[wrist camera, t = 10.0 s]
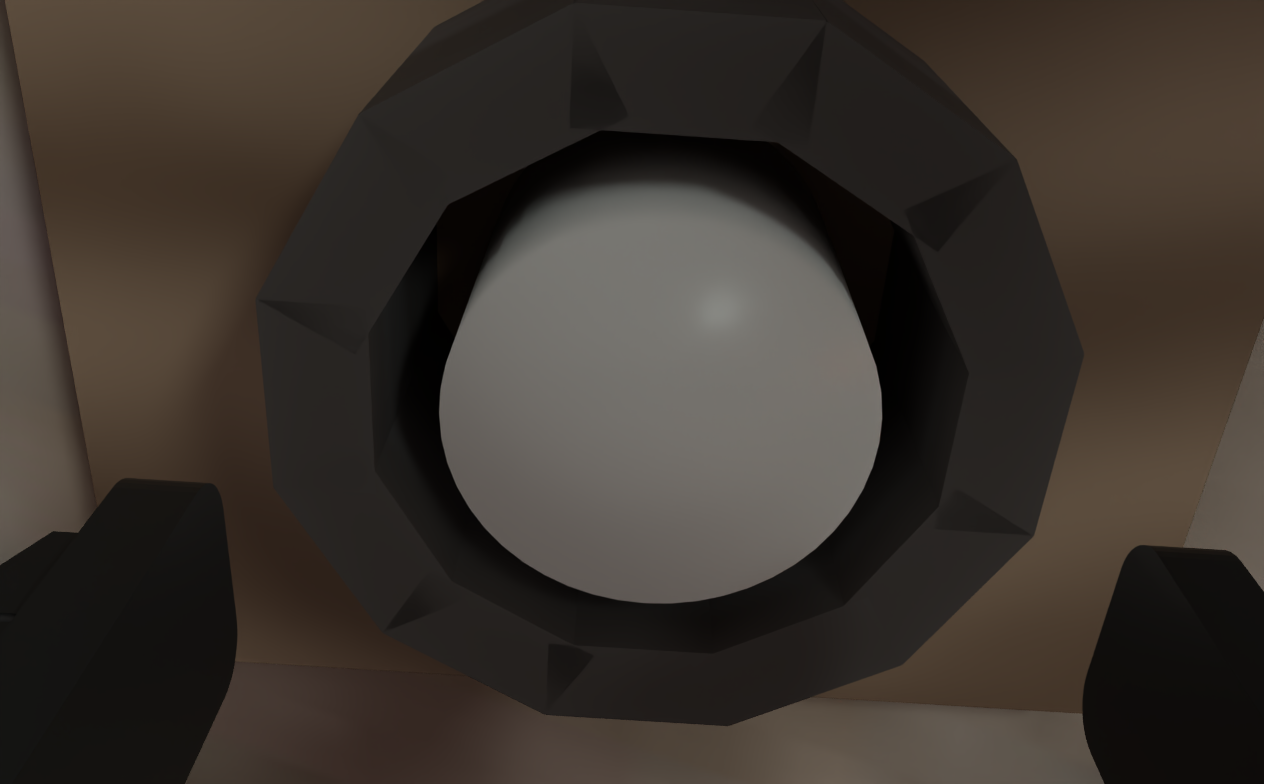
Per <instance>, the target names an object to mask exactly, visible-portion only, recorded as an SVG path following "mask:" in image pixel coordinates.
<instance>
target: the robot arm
mask: <svg viewBox="0 0 1264 784" xmlns="http://www.w3.org/2000/svg"><path fill="white" fill-rule="evenodd" d="M236 650H237V617H236V608H235V600H234V592H233V584H232V575H231V567H230V559H229V550H228V542H227V534H226V526H225V517H224V509H223V503H222V499H221V495H220V493H219V491H218V489H217V487H216V486H215V485H213V484H212V483H200V482H184V481H169V480H153V479H137V478H124V479H121V480H120V481H118V482H117V483H116V484H115V485H114V486H113V488H112V489H111V490H110V492H109V493H108V494H107V495H106V497H105V498H104V499H103V501H102V502H101V503H100V505H99V506H98V507H97V509H96V510H95V511H94V513H93V514H92V515H91V517H90V518H89V519H88V521H87V522H86V523H85V524H84V526H83V527H82V528H81V530H80V531H79V532H78V533H71V532H56V531H53V532H51V533H50V534H48V535H47V536H45V537H44V538H42V539H40V540H39V541H37V542H36V543H34V544H33V545H31V546H30V547H28V548H26V549H25V550H23V551H22V552H20V553H19V554H17V555H15V556H14V557H12V558H11V559H9V560H8V561H6V562H5V563H3V564H1V565H0V784H185V782H186V780H187V778H188V776H189V773H190V771H191V769H192V767H193V765H194V763H195V760H196V758H197V756H198V754H199V752H200V750H201V748H202V745H203V743H204V741H205V739H206V737H207V735H208V733H209V730H210V728H211V726H212V724H213V722H214V720H215V717H216V715H217V713H218V711H219V709H220V707H221V705H222V702H223V700H224V698H225V696H226V693H227V691H228V688H229V685H230V681H231V678H232V674H233V669H234V664H235V658H236ZM1082 712H1083V724H1084V731H1085V736H1086V740H1087V743H1088V747H1089V749H1090V752H1091V755H1092V757H1093V759H1094V761H1095V764H1096V766H1097V768H1098V770H1099V772H1100V775H1101V777H1102V779H1103V781H1104V784H1264V592H1263V590H1262V589H1261V587H1260V586H1259V585H1258V583H1257V582H1256V581H1255V579H1254V578H1253V577H1252V575H1251V574H1250V573H1249V571H1248V570H1247V569H1246V567H1245V566H1244V565H1243V563H1242V562H1241V561H1240V560H1239V559H1238V557H1237V556H1235V555H1234V554H1233V553H1231V552H1229V551H1226V550H1213V549H1198V548H1182V547H1166V546H1150V545H1139V546H1136V547H1135V548H1134V549H1132V550H1131V551H1130V552H1129V554H1128V555H1127V557H1126V559H1125V560H1124V563H1123V565H1122V568H1121V570H1120V574H1119V577H1118V580H1117V583H1116V586H1115V589H1114V592H1113V595H1112V598H1111V601H1110V604H1109V607H1108V610H1107V613H1106V617H1105V620H1104V623H1103V626H1102V629H1101V632H1100V635H1099V638H1098V641H1097V644H1096V647H1095V650H1094V653H1093V656H1092V660H1091V663H1090V666H1089V669H1088V672H1087V675H1086V679H1085V683H1084V689H1083V699H1082Z"/></svg>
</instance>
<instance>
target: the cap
mask: <svg viewBox="0 0 1264 784" xmlns="http://www.w3.org/2000/svg"><path fill="white" fill-rule="evenodd" d="M439 418H440V429H441V439H442V443H443V447H444V451H445V455H446V460H447V463H448V466H449V468H450V471H451V473H452V476H453V478H454V481H455V483H456V486H457V488H458V489H459V491H460V493H461V494H462V496H463V498H464V500H465V501H466V503H467V505H468V507H469V508H470V510H471V511H472V512H473V513H474V515H475V516H476V517H477V519H478V520H479V521H480V523H481V524H482V525H483V526H484V528H485V529H486V530H487V531H488V532H489V533H490V534H491V535H492V536H493V537H494V538H495V539H496V540H497V541H498V542H499V543H500V544H501V545H502V546H503V547H505V548H506V549H507V550H508V551H510V552H511V553H512V554H514V555H515V556H516V557H517V558H519V559H520V560H521V561H522V562H524V563H526V564H527V565H529V566H531V567H532V568H534V569H536V570H537V571H539V572H540V573H542V574H544V575H546V576H548V577H550V578H552V579H554V580H556V581H558V582H561V583H563V584H565V585H567V586H570V587H573V588H576V589H578V590H581V591H584V592H587V593H590V594H593V595H598V596H602V597H607V598H611V599H616V600H622V601H631V602H639V603H681V602H692V601H700V600H705V599H710V598H715V597H720V596H724V595H728V594H731V593H734V592H737V591H740V590H744V589H747V588H749V587H752V586H754V585H756V584H759V583H761V582H763V581H765V580H768V579H770V578H772V577H774V576H776V575H777V574H779V573H781V572H783V571H784V570H786V569H788V568H790V567H791V566H793V565H795V564H796V563H797V562H799V561H800V560H801V559H803V558H804V557H805V556H807V555H808V554H809V553H811V552H812V551H813V550H815V549H816V548H817V547H818V546H819V545H820V544H821V543H822V542H823V541H824V540H825V539H826V538H827V537H828V536H829V535H831V534H832V533H833V532H834V531H835V529H836V528H837V527H838V526H839V524H840V523H841V522H842V521H843V519H844V518H845V517H846V516H847V514H848V513H849V512H850V510H851V509H852V507H853V505H854V504H855V502H856V501H857V499H858V497H859V496H860V494H861V492H862V491H863V489H864V486H865V484H866V482H867V479H868V477H869V475H870V472H871V470H872V468H873V464H874V461H875V457H876V453H877V449H878V446H879V441H880V432H881V424H882V399H881V388H880V383H879V378H878V373H877V367H876V364H875V361H874V359H873V356H872V353H871V350H870V347H869V345H868V342H867V339H866V336H865V334H864V331H863V328H862V325H861V322H860V320H859V317H858V314H857V311H856V309H855V306H854V303H853V300H852V298H851V295H850V292H849V289H848V287H847V284H846V281H845V278H844V276H843V273H842V270H841V267H840V264H839V262H838V259H837V256H836V253H835V251H834V248H833V245H832V242H831V240H830V237H829V234H828V231H827V229H826V226H825V223H824V220H823V218H822V215H821V212H820V209H819V206H818V204H817V202H816V200H815V198H814V196H813V194H812V193H811V191H810V189H809V187H808V185H807V184H806V182H805V181H804V179H803V178H802V177H801V175H800V174H799V173H798V171H797V170H796V168H795V167H794V166H793V165H792V164H791V163H790V162H789V161H788V160H787V159H786V158H785V157H784V156H783V155H782V154H781V153H780V152H779V151H778V150H777V149H776V148H775V147H773V146H772V145H771V144H769V143H768V142H766V141H752V140H737V139H723V138H708V137H694V136H679V135H665V134H650V133H636V132H621V131H607V130H600V131H598V132H596V133H594V134H592V135H590V136H588V137H586V138H584V139H582V140H580V141H578V142H576V143H573V144H571V145H569V146H567V147H565V148H563V149H561V150H559V151H557V152H555V153H553V154H551V155H549V156H547V157H545V158H543V159H541V160H539V161H536V162H534V163H532V164H530V165H528V166H527V168H526V169H525V170H524V172H523V173H522V174H521V176H520V177H519V178H518V180H517V181H516V182H515V184H514V186H513V187H512V189H511V191H510V193H509V195H508V197H507V198H506V200H505V202H504V204H503V207H502V210H501V212H500V215H499V218H498V220H497V223H496V226H495V228H494V231H493V234H492V237H491V240H490V242H489V245H488V248H487V251H486V253H485V256H484V259H483V262H482V265H481V267H480V270H479V273H478V276H477V278H476V281H475V284H474V287H473V290H472V292H471V295H470V298H469V301H468V303H467V306H466V309H465V312H464V315H463V317H462V320H461V323H460V326H459V328H458V331H457V334H456V337H455V340H454V342H453V345H452V348H451V351H450V353H449V356H448V359H447V362H446V365H445V370H444V375H443V380H442V384H441V390H440V407H439Z"/></svg>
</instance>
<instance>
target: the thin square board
mask: <svg viewBox="0 0 1264 784" xmlns="http://www.w3.org/2000/svg"><path fill="white" fill-rule="evenodd" d="M5 4H6V9H7V15H8V20H9V26H10V31H11V37H12V42H13V48H14V53H15V59H16V64H17V70H18V75H19V81H20V86H21V92H22V97H23V103H24V108H25V114H26V119H27V125H28V130H29V136H30V141H31V147H32V152H33V158H34V163H35V169H36V174H37V180H38V185H39V191H40V196H41V202H42V207H43V213H44V218H45V224H46V229H47V235H48V240H49V246H50V251H51V256H52V262H53V267H54V273H55V278H56V284H57V289H58V295H59V300H60V306H61V311H62V317H63V322H64V328H65V333H66V339H67V344H68V350H69V355H70V361H71V366H72V372H73V377H74V383H75V388H76V394H77V399H78V405H79V410H80V416H81V421H82V427H83V432H84V438H85V443H86V449H87V454H88V460H89V465H90V471H91V476H92V482H93V487H94V493H95V498H96V504H97V507H98V506H99V505H100V503H101V502H102V501H103V499H104V498H105V497H106V495H107V494H108V493H109V492H110V490H111V489H112V488H113V486H114V485H115V484H116V483H117V482H118V481H120V480H121V479H124V478H137V479H153V480H169V481H184V482H200V483H212V484H213V485H215V486H216V487H217V489H218V491H219V493H220V495H221V499H222V503H223V509H224V517H225V526H226V534H227V542H228V550H229V559H230V567H231V575H232V584H233V592H234V600H235V608H236V617H237V650H236V658H235V662H250V663H266V664H282V665H299V666H315V667H331V668H348V669H364V670H380V671H397V672H413V673H429V674H446V675H462V676H469V677H471V678H473V679H475V680H477V681H479V682H481V683H483V684H485V685H487V686H489V687H491V688H493V689H495V690H497V691H499V692H501V693H503V694H505V695H507V696H509V697H511V698H513V699H515V700H517V701H519V702H521V703H523V704H525V705H527V706H529V707H531V708H533V709H535V710H537V711H539V712H541V713H543V714H546V715H556V716H572V717H589V718H605V719H621V720H638V721H654V722H671V723H687V724H704V725H720V726H728V725H729V726H730V725H733V724H736V723H738V722H741V721H744V720H747V719H750V718H753V717H756V716H758V715H761V714H764V713H767V712H770V711H773V710H776V709H778V708H781V707H784V706H787V705H790V704H793V703H796V702H798V701H801V700H804V699H807V698H810V697H821V698H837V699H853V700H870V701H886V702H902V703H918V704H935V705H951V706H967V707H984V708H1000V709H1016V710H1033V711H1049V712H1065V713H1082V714H1083V712H1082V699H1083V689H1084V683H1085V679H1086V675H1087V672H1088V669H1089V666H1090V663H1091V660H1092V656H1093V653H1094V650H1095V647H1096V644H1097V641H1098V638H1099V635H1100V632H1101V629H1102V626H1103V623H1104V620H1105V617H1106V613H1107V610H1108V607H1109V604H1110V601H1111V598H1112V595H1113V592H1114V589H1115V586H1116V583H1117V580H1118V577H1119V574H1120V570H1121V568H1122V565H1123V563H1124V560H1125V559H1126V557H1127V555H1128V554H1129V552H1130V551H1131V550H1132V549H1134V548H1135V547H1136V546H1139V545H1150V546H1166V547H1182V548H1183V545H1184V543H1185V540H1186V537H1187V534H1188V531H1189V528H1190V526H1191V523H1192V520H1193V517H1194V514H1195V511H1196V509H1197V506H1198V503H1199V500H1200V497H1201V494H1202V492H1203V489H1204V486H1205V483H1206V480H1207V477H1208V475H1209V472H1210V469H1211V466H1212V463H1213V460H1214V458H1215V455H1216V452H1217V449H1218V446H1219V443H1220V441H1221V438H1222V435H1223V432H1224V429H1225V426H1226V423H1227V421H1228V418H1229V415H1230V412H1231V409H1232V406H1233V404H1234V401H1235V398H1236V395H1237V392H1238V389H1239V387H1240V384H1241V381H1242V378H1243V375H1244V372H1245V370H1246V367H1247V364H1248V361H1249V358H1250V355H1251V353H1252V350H1253V347H1254V344H1255V341H1256V338H1257V336H1258V333H1259V330H1260V327H1261V324H1262V321H1263V319H1264V0H5ZM600 130H607V131H621V132H636V133H650V134H665V135H679V136H694V137H708V138H723V139H737V140H752V141H766V142H768V143H769V144H771V145H772V146H773V147H775V148H776V149H777V150H778V151H779V152H780V153H781V154H782V155H783V156H784V157H785V158H786V159H787V160H788V161H789V162H790V163H791V164H792V165H793V166H794V167H795V168H796V170H797V171H798V173H799V174H800V175H801V177H802V178H803V179H804V181H805V182H806V184H807V185H808V187H809V189H810V191H811V193H812V194H813V196H814V198H815V200H816V202H817V204H818V206H819V209H820V212H821V215H822V218H823V220H824V223H825V226H826V229H827V231H828V234H829V237H830V240H831V242H832V245H833V248H834V251H835V253H836V256H837V259H838V262H839V264H840V267H841V270H842V273H843V276H844V278H845V281H846V284H847V287H848V289H849V292H850V295H851V298H852V300H853V303H854V306H855V309H856V311H857V314H858V317H859V320H860V322H861V325H862V328H863V331H864V334H865V336H866V339H867V342H868V345H869V347H870V350H871V353H872V356H873V359H874V361H875V364H876V367H877V373H878V378H879V383H880V388H881V399H882V424H881V432H880V441H879V446H878V449H877V453H876V457H875V461H874V464H873V468H872V470H871V472H870V475H869V477H868V479H867V482H866V484H865V486H864V489H863V491H862V492H861V494H860V496H859V497H858V499H857V501H856V502H855V504H854V505H853V507H852V509H851V510H850V512H849V513H848V514H847V516H846V517H845V518H844V519H843V521H842V522H841V523H840V524H839V526H838V527H837V528H836V529H835V531H834V532H833V533H832V534H831V535H829V536H828V537H827V538H826V539H825V540H824V541H823V542H822V543H821V544H820V545H819V546H818V547H817V548H816V549H815V550H813V551H812V552H811V553H809V554H808V555H807V556H805V557H804V558H803V559H801V560H800V561H799V562H797V563H796V564H795V565H793V566H791V567H790V568H788V569H786V570H784V571H783V572H781V573H779V574H777V575H776V576H774V577H772V578H770V579H768V580H765V581H763V582H761V583H759V584H756V585H754V586H752V587H749V588H747V589H744V590H740V591H737V592H734V593H731V594H728V595H724V596H720V597H715V598H710V599H705V600H700V601H692V602H681V603H639V602H631V601H622V600H616V599H611V598H607V597H602V596H598V595H593V594H590V593H587V592H584V591H581V590H578V589H576V588H573V587H570V586H567V585H565V584H563V583H561V582H558V581H556V580H554V579H552V578H550V577H548V576H546V575H544V574H542V573H540V572H539V571H537V570H536V569H534V568H532V567H531V566H529V565H527V564H526V563H524V562H522V561H521V560H520V559H519V558H517V557H516V556H515V555H514V554H512V553H511V552H510V551H508V550H507V549H506V548H505V547H503V546H502V545H501V544H500V543H499V542H498V541H497V540H496V539H495V538H494V537H493V536H492V535H491V534H490V533H489V532H488V531H487V530H486V529H485V528H484V526H483V525H482V524H481V523H480V521H479V520H478V519H477V517H476V516H475V515H474V513H473V512H472V511H471V510H470V508H469V507H468V505H467V503H466V501H465V500H464V498H463V496H462V494H461V493H460V491H459V489H458V488H457V486H456V483H455V481H454V478H453V476H452V473H451V471H450V468H449V466H448V463H447V460H446V455H445V451H444V447H443V443H442V439H441V429H440V418H439V407H440V390H441V384H442V380H443V375H444V370H445V365H446V362H447V359H448V356H449V353H450V351H451V348H452V345H453V342H454V340H455V337H456V334H457V331H458V328H459V326H460V323H461V320H462V317H463V315H464V312H465V309H466V306H467V303H468V301H469V298H470V295H471V292H472V290H473V287H474V284H475V281H476V278H477V276H478V273H479V270H480V267H481V265H482V262H483V259H484V256H485V253H486V251H487V248H488V245H489V242H490V240H491V237H492V234H493V231H494V228H495V226H496V223H497V220H498V218H499V215H500V212H501V210H502V207H503V204H504V202H505V200H506V198H507V197H508V195H509V193H510V191H511V189H512V187H513V186H514V184H515V182H516V181H517V180H518V178H519V177H520V176H521V174H522V173H523V172H524V170H525V169H526V168H527V166H528V165H530V164H532V163H534V162H536V161H539V160H541V159H543V158H545V157H547V156H549V155H551V154H553V153H555V152H557V151H559V150H561V149H563V148H565V147H567V146H569V145H571V144H573V143H576V142H578V141H580V140H582V139H584V138H586V137H588V136H590V135H592V134H594V133H596V132H598V131H600Z"/></svg>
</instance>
